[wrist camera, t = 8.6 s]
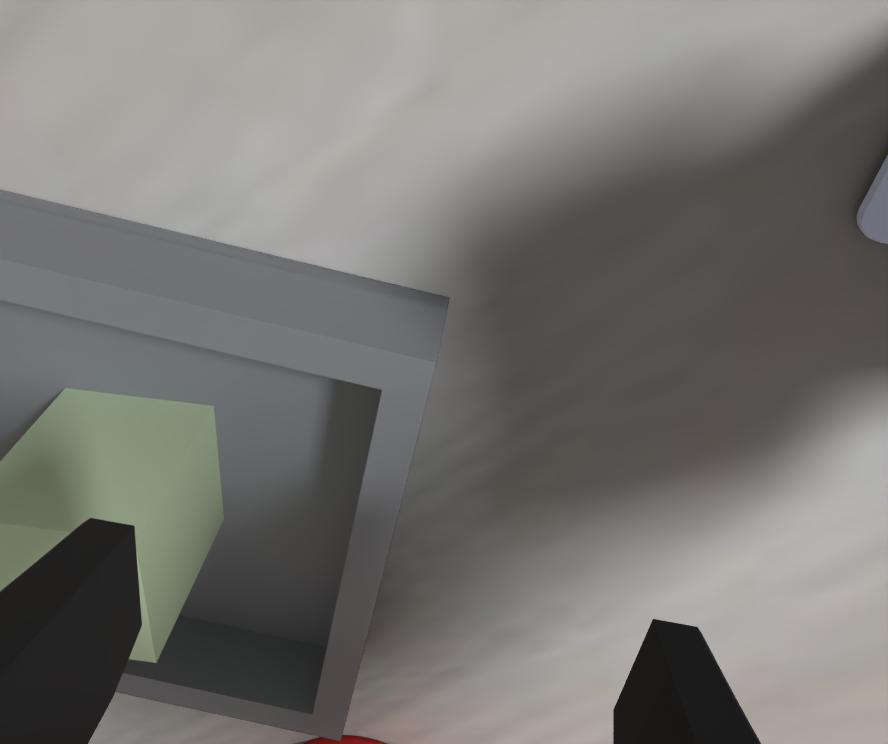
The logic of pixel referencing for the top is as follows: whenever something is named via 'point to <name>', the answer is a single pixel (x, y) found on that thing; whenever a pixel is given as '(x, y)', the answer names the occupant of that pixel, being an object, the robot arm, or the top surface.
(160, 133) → the top surface
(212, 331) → the tray
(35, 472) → the green block
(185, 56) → the top surface
